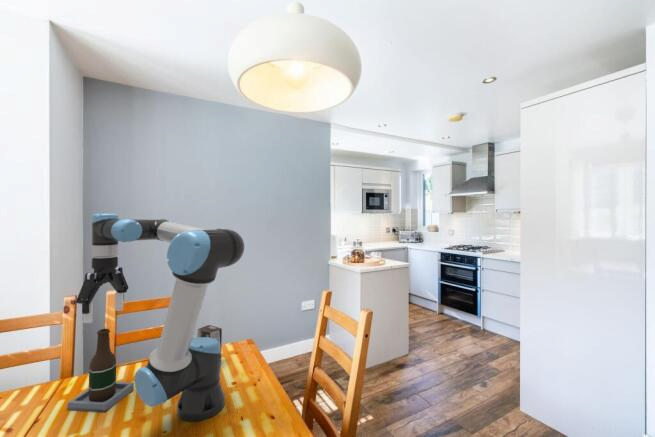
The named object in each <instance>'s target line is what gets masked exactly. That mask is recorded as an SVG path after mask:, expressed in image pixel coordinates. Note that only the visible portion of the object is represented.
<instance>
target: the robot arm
mask: <svg viewBox="0 0 655 437" xmlns="http://www.w3.org/2000/svg"><path fill="white" fill-rule="evenodd" d="M91 231H92V232H91V244H92V245H91V249H92V250H91V256H92V258H91V269H93V273H91V272H90V273H89V272H87V273H85V275H84V281H83V283H82V286H81V289H80V290H79V293H78V296H77V298H76V300H75V303H76V304H78V305H79V304H80V305H81V314H83V315H82V323H83V324H92V323H94V322H93V319H94V317H93V316H94V310H93V309H94V303H93V302H92V301H93V299H94V298H95V296H96V294H97V292H98V291H99V289H100V287H102V286H103V285H104V284H105V285H106V284H107V283H109V284H110V285H111V287H112V288H113V289H114V291H115V293H114V311H117V312H120V311H121V312H122V311H123V310H124V300H125V299H124V298H125V293H127V292H128V290H129V285H128V282H127V281H126V277H125V276H124V272H123V267H122V266H121V267H120V266H119V257H118V255H119V242H121V243H126V242H127V243H131V242H135V241H149V240H152V241H153V240H157V241H161V242H165V243H169V244H168V248H167V251H166V258H167V260H168V261H167V265H168V267H169V270H170V271H172V272H171V274H172V276H173V277H174V279H176V280H175V283H174V287H173V289H172V294H171V297H170V300H169V305H168V308H167V313H166V315H165V320H164V323H163V328H162V329H161V330H162V331H161V335H160V338H159V340H158V341H159V342H158V345H157V347H156V348H155V349H153V350H152V351H151V353H150V354H149V357H148V361H147V364H146V365H144V366H141V367H140V368H138V369H137V370H136V372H135V374H134V379H133V380H134V388H135V390H136V393H137V395H138V397H139V399H140V400H141V401H142V402H143V403H144V404H145V405H146V406H147V407H157V406H159V405H161V404H162V403H163V404H164V403H166V402H167V401H168V400H170V399H172V398H174V397H176V396H177V395H179V394H180V393H181V394H180V396H179V400H178V402H177V405H176V413H177V417H178V418H179V419H181V420H183V421H186V422H201V421H204V420H207V419H211V418H212V417H214V416H216V415H217V414H219V412H221V411H222V409H224V407H225V400H226V398H225V397H226V396H225V393H224V389H223V387H222V384H221V381H220V379H221V365H220V353H221V354H222V350H221V351H220V343H219V341H218V340H216V339H214V338H208V337H199V338H197V337H194V333H195V330H196V327H197V322H198V320H199V316H200V314H201V313H200V312H201V310H202V306H203V302H204V299H205V296H206V292H207V290H208V289H207V288H208V285H210V284H212V283H213V282H215V280H216V277H217V274H218V271H219V269H223V268H226V267H231V266H232V265H233V266H234V265H235V264H236V263H237V262H238V261H240V259H241V258H242V256H243V254H244V251H245V242H244V239H243V238H242V236H241V235H240V234H239V233H238V232H237V231H235V230H233V229H227V228H226V229H225V228H224V229H223V228H215V229H207V228H203V227H198V226H193V225H188V224H183V223H178V222H174V221H173V220H171V219H166V218H165V219H164V218H163V219H131V218H129V219H128V218H127V219H126V218H123V219H122V218H120V219H119V215H118V214H117V213H94V214H92V222H91ZM118 266H119V267H118ZM193 337H194V338H193Z"/></svg>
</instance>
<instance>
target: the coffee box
mask: <svg viewBox="0 0 655 437" xmlns="http://www.w3.org/2000/svg"><path fill="white" fill-rule="evenodd" d="M222 332H223V329H222V328H221V327H217V326H215V325H210V324H208V325H205V326H203V327H200V328H197V337H196V338H199V337H208V338H214V339H216V340H218V341H219V343H220V351H221V353H220V366H221V365H222V346H223V345H222V342H223V341H222V340H223V339H222V338H223V337H222V334H223V333H222Z"/></svg>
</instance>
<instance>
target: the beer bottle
mask: <svg viewBox="0 0 655 437" xmlns="http://www.w3.org/2000/svg"><path fill="white" fill-rule="evenodd" d="M110 333H111V331H110V329H109V328H102V329H99V330H97V332H96V335H97V343H96V350H95V354H94V355H93V357H92V358H91V359H90V360H91V361H90V362H89V368H88V389H89V400H90V401H91V402H104V401H106V400H108V399H110V398H111V397H113V395H114V394H115V392H116V382H117V358H116V356H115V353H113V352H112V350H111V344H110V343H111V342H110Z"/></svg>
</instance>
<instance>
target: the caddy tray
mask: <svg viewBox="0 0 655 437" xmlns="http://www.w3.org/2000/svg"><path fill="white" fill-rule="evenodd" d="M134 389H135V382H125V381H124V382H123V381H116V392H115V394H114V395H113V397H111V398H110V399H108V400H106V401H104V402H91V401H90V400H89V388H87V389H86V390H84V391H83V392H81V393H79V394H78V395H77V396H75V397H74V398H72V399H71V400H69V401H67V407H66V408H67V411H77V412H78V411H79V412H91V413H92V412H93V413H107V412H108V411H109V410H110V409H112V407H115V405H116V404H118V403H119V402H120V401H121V400H123V399H124V398H125V397H127V395H129V394H130V393H131V392H132V391H134Z"/></svg>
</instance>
